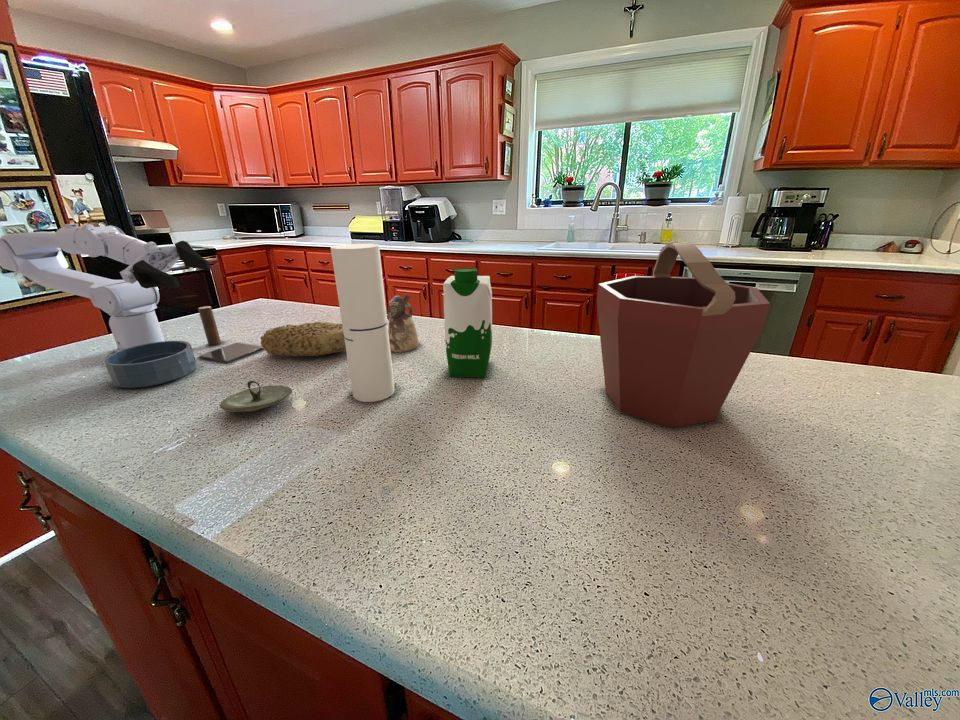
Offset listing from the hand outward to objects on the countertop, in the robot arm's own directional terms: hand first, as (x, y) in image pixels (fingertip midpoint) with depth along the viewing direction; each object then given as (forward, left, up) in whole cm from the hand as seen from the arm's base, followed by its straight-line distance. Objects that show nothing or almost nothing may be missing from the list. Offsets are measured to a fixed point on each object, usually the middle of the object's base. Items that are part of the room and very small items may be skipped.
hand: (192, 273), depth 81 cm
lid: (+29, -14, -18) cm, 37 cm away
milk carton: (+56, +12, -18) cm, 60 cm away
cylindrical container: (+44, -3, -18) cm, 48 cm away
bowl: (-1, -12, -18) cm, 21 cm away
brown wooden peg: (-8, +5, -18) cm, 20 cm away
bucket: (+90, +11, -18) cm, 93 cm away
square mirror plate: (+2, +2, -18) cm, 18 cm away
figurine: (+36, +19, -18) cm, 45 cm away
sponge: (+20, +9, -18) cm, 29 cm away
